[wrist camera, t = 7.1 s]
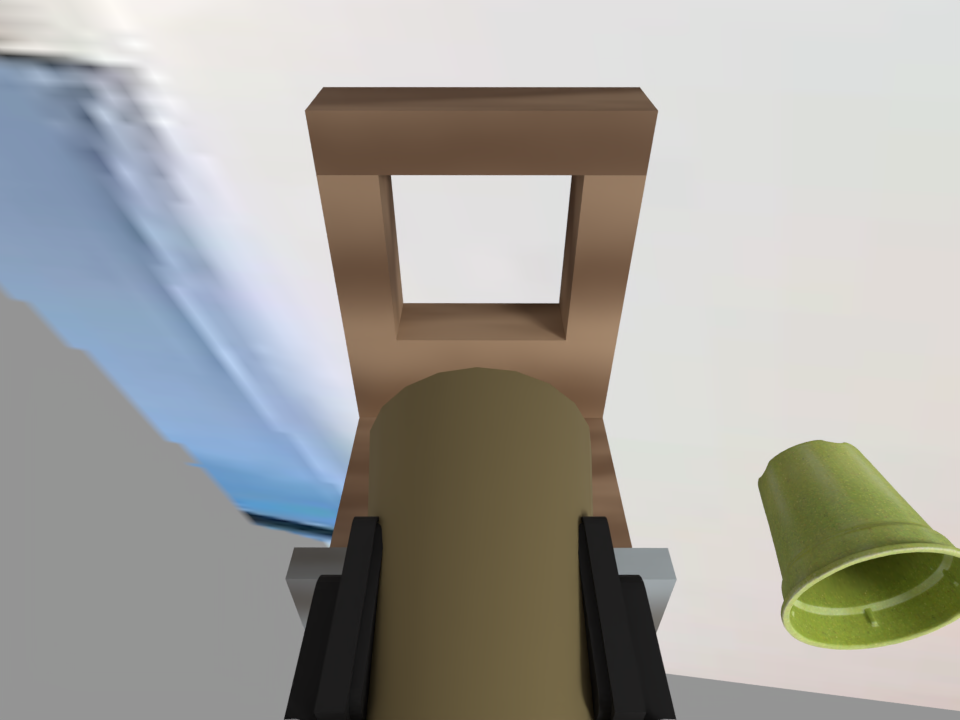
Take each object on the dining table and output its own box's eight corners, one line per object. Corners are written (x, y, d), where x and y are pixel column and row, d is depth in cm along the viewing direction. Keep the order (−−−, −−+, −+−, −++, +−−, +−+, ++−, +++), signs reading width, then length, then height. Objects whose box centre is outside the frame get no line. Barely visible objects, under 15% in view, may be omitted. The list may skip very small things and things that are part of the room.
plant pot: (701, 465, 36) (752, 600, 29) (859, 390, 32) (961, 525, 25) (766, 535, 40) (823, 666, 34) (912, 476, 37) (1010, 611, 30)
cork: (383, 522, 18) (296, 1100, 9) (351, 369, 14) (157, 1100, 6) (582, 519, 18) (676, 1099, 9) (602, 364, 14) (791, 1100, 6)
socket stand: (310, 86, 22) (164, 258, 12) (652, 87, 22) (798, 259, 12) (364, 409, 33) (311, 647, 23) (597, 409, 33) (650, 648, 23)
